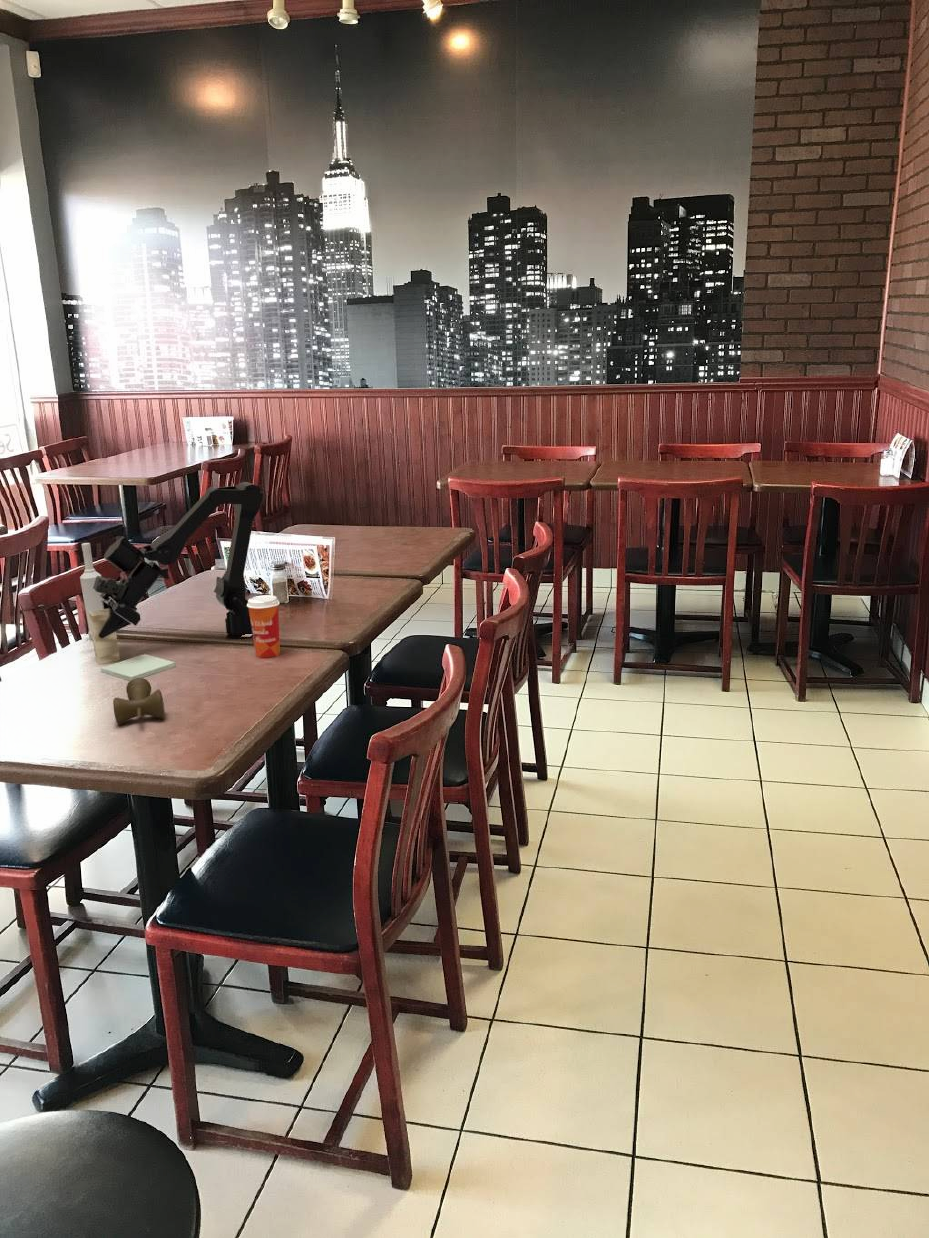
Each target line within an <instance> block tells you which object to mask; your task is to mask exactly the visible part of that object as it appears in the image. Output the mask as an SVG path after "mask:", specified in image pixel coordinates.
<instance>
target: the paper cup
mask: <svg viewBox="0 0 929 1238" xmlns="http://www.w3.org/2000/svg"><path fill="white" fill-rule="evenodd" d="M247 600H248V604H247V607H248V608H249V614H250V621H251V627H252V633H253V636H252V638H253V644H254V650H255V654H256V657H257V658H259V659H271V658H276V657H278V656H280V654H281V652H280V651H281V650H280V649H281V648H280V646H281V645H280V644H281V643H280V618H279V617H280V616H279V605H280V601H279V600H278V598H277V596H275V595H271V594H270V595H269V594H264V595H257V596H253V597H250V598H249V599H247Z"/></svg>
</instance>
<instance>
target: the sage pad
mask: <svg viewBox="0 0 929 1238" xmlns="http://www.w3.org/2000/svg"><path fill="white" fill-rule="evenodd" d="M175 667H176V662H174V661H172V660H168V659H163V658H161V657H156V656H152V655H149V654H145V653H144V654H140V655H137V656H134V657H132V658H128V659H125V660H122V661H121V660H120V661H117V662H115V663H112V664H109V665H106V666H102V667H101V668H100V670H101V673H103V674H106V675H110V676H113V677H115V678H120V679H123V680H125V681H126V680H127V681H128V682H130V681H131V680H132V679H135V678H147V677H148V676H151V675H154V674H157V673H160V672H164V671H166V670H169V669H172V668H175Z"/></svg>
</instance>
